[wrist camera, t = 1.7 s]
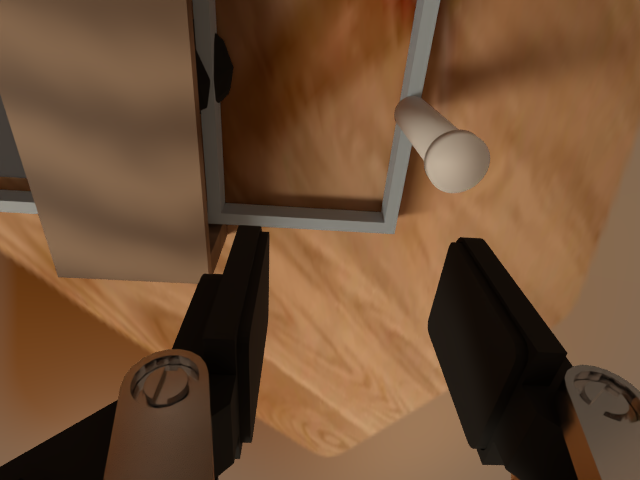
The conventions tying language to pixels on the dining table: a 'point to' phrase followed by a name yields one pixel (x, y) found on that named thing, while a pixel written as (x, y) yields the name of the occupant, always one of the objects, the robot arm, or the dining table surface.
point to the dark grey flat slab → (8, 149)
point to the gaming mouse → (221, 73)
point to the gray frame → (411, 129)
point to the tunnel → (111, 135)
